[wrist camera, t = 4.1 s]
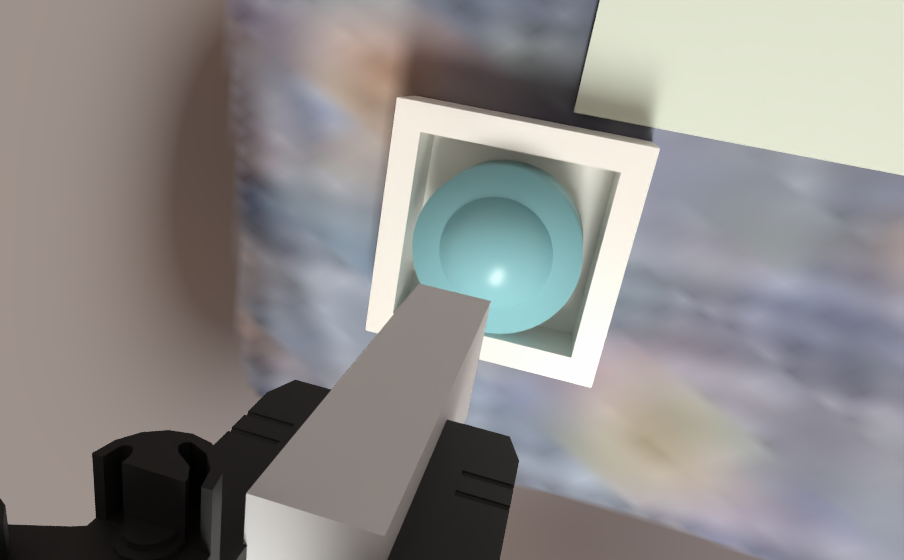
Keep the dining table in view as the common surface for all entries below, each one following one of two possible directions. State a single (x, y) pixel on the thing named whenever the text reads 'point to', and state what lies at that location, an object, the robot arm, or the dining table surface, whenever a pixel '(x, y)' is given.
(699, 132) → the pad
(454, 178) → the light blue round piece
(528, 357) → the housing
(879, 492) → the dining table surface
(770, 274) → the dining table surface
